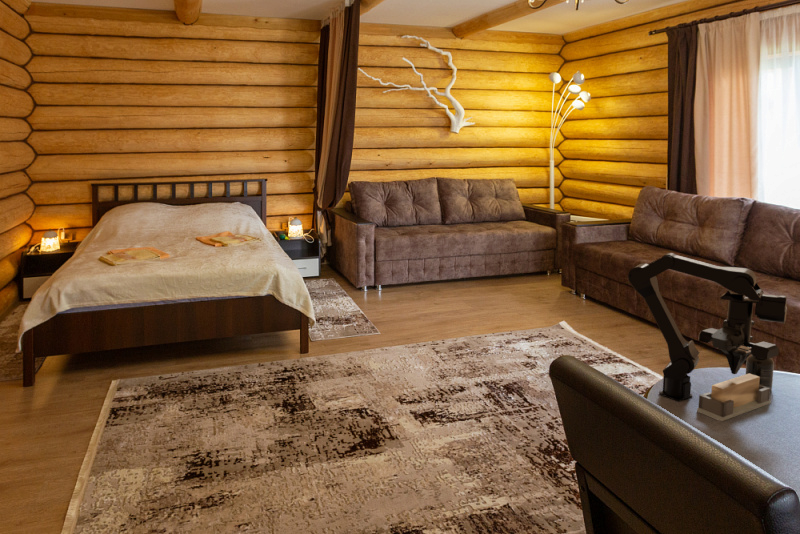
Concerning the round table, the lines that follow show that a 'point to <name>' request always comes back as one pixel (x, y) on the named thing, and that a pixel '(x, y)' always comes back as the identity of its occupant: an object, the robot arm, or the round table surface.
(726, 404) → the slat rail
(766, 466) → the round table surface
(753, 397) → the slat
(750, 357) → the supplement bottle
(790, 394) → the round table surface
